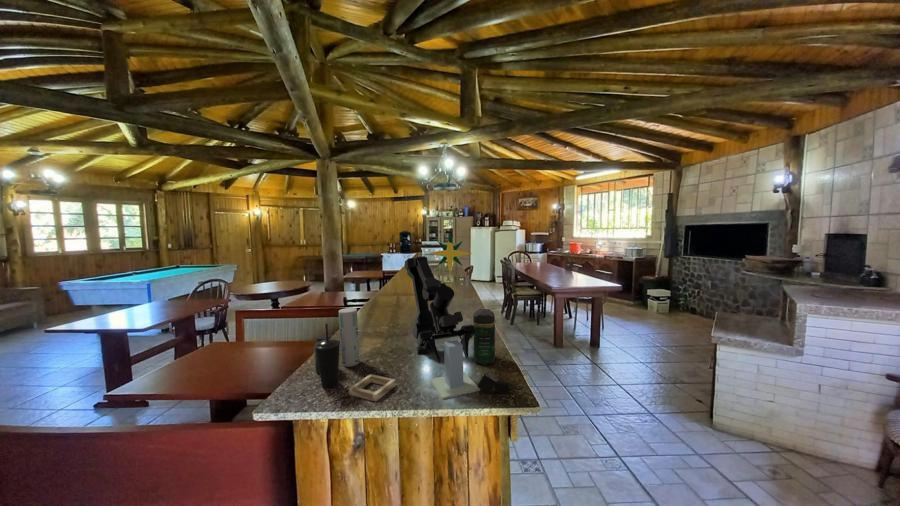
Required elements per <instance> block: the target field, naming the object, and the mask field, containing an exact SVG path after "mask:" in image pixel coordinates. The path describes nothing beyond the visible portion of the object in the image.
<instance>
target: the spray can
mask: <svg viewBox="0 0 900 506" xmlns="http://www.w3.org/2000/svg"><path fill="white" fill-rule="evenodd" d="M358 323H359V321H358V309H357V308H356V307H347V308H342V309H339V310H338V325H339V327H338V328H339V338H340V339H339V341H340V353H341V354H340V356H341V365H342V366H343V367H347V368H350V367H354V366H357V365H359V363H360V345H359V342H360V341H359V324H358Z"/></svg>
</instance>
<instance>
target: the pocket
mask: <svg viewBox="0 0 900 506" xmlns="http://www.w3.org/2000/svg"><path fill="white" fill-rule="evenodd" d="M371 383H372V384H373V383H374V384H377V385H382V386H381V387H380V388H379V389H377V390H376V391H371V390H368V389H364V388H365V387H366V386H368V385H370V384H371ZM396 386H397V380H396V379H395V378H390V377H385V376H381V375H377V374H372V373H371V374H368V375H366V377H364V378H362V379H360V380H359V381H357V382H356V383H355V384H353V385H351V386H350V387H349V388H348V395H349V396H353V397H356V398H361V399H365V400H367V401H368V400H369V401H373V402H377V401H379V400H380V399H381V398H383V397H384V396H385V395H386V394H388V393H389V392H390V391H392V389H394V388H395V387H396Z"/></svg>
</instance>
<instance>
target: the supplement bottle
mask: <svg viewBox="0 0 900 506" xmlns="http://www.w3.org/2000/svg"><path fill="white" fill-rule="evenodd" d="M325 339H326V334H321V335H318V336H317V337H316V339H315V340H316V343H318V342H320V341H322V340H325ZM328 339H332V336H331V335H330V334H328ZM316 343H315V344H316ZM313 355H314V370H315V372H316V373H318V374H320V371H319V365H318V359H317V353H316V348H315V346H314V347H313Z"/></svg>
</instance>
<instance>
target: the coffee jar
mask: <svg viewBox="0 0 900 506" xmlns="http://www.w3.org/2000/svg"><path fill="white" fill-rule="evenodd" d="M472 318H473V324H472V325H473V326H474V327H475V330H476V332H475V333H474V335H473V361H474V363H476V364H480V365H484V366H485V365H489V364H490V365H491V364H494V362H495V360H496V320H495V318H496V317H495V312H494V311H492V310H491V309H489V308H479V309H477V310H476V311H474V313H473V315H472Z"/></svg>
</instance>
